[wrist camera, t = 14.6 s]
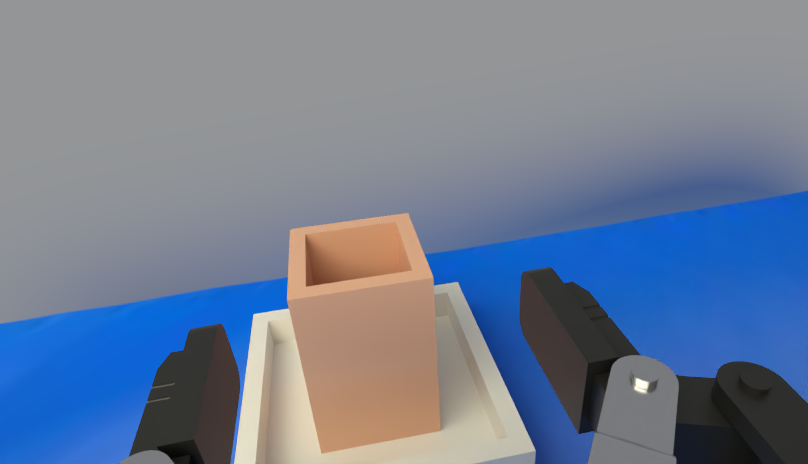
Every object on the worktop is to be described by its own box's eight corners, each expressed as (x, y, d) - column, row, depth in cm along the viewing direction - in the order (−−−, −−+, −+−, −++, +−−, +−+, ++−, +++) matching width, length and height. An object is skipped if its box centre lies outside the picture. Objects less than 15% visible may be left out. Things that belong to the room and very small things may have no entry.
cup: (417, 350, 33) (407, 212, 28) (440, 430, 28) (433, 277, 23) (318, 367, 33) (290, 229, 28) (321, 453, 27) (287, 300, 22)
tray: (458, 315, 38) (457, 281, 36) (532, 491, 25) (535, 451, 24) (262, 348, 36) (253, 314, 34) (243, 551, 24) (227, 513, 22)
